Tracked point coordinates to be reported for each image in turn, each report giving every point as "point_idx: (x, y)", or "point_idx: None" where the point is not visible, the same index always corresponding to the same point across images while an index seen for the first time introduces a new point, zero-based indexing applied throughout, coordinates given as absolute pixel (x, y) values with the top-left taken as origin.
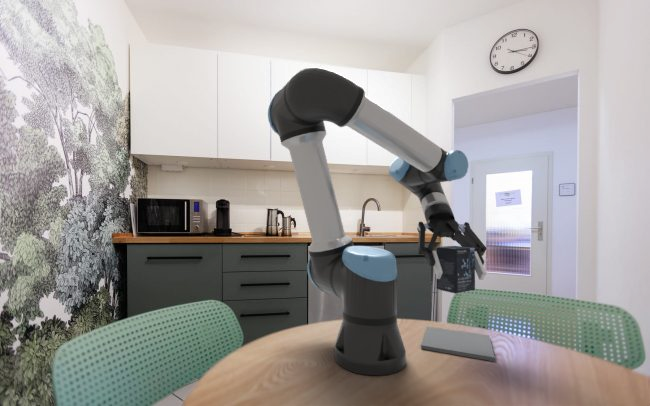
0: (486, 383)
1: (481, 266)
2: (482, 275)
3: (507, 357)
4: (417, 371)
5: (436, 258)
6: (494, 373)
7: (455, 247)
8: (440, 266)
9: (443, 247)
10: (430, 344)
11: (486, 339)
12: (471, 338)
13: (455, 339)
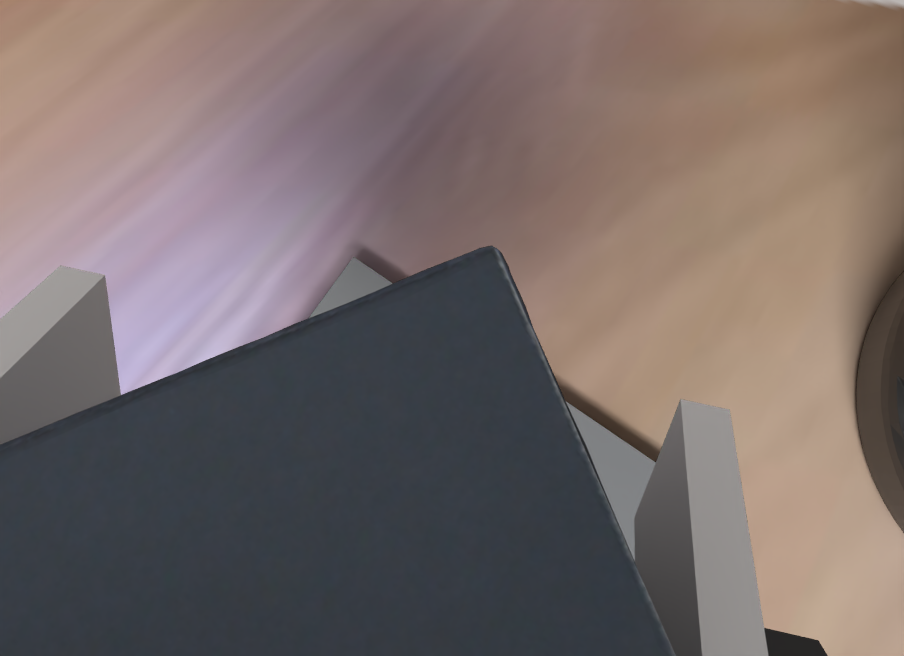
0: (562, 80)
1: (17, 337)
2: (102, 319)
3: (244, 297)
4: (840, 230)
5: (738, 636)
6: (456, 153)
7: (344, 490)
8: (693, 480)
9: (653, 614)
10: (630, 492)
11: None
12: None
13: None
